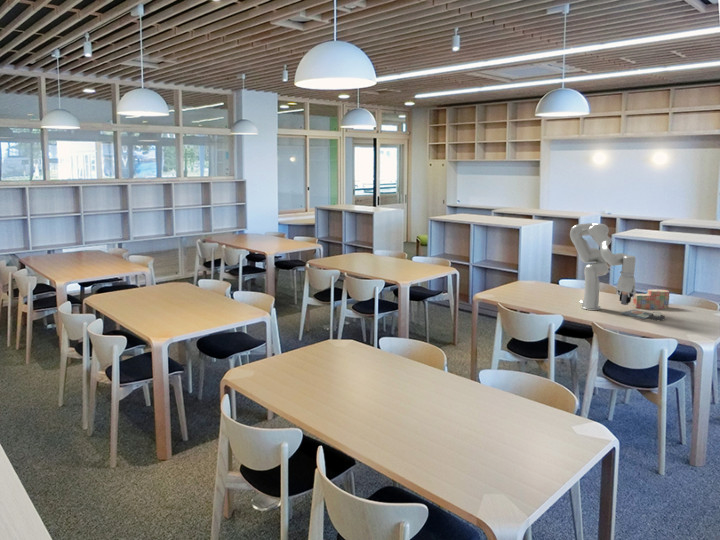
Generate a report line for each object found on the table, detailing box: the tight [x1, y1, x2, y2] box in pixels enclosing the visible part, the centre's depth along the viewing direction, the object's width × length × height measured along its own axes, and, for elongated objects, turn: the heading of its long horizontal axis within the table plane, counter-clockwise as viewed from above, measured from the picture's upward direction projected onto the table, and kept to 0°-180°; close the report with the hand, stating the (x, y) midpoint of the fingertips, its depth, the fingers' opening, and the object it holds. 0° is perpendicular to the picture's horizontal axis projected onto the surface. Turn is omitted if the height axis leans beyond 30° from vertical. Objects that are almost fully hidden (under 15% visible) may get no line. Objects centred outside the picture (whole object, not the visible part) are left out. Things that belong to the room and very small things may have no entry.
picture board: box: [620, 309, 653, 320], centre depth 391 cm, size 17×14×1 cm
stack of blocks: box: [632, 289, 670, 310], centre depth 408 cm, size 21×6×12 cm, turn 84°
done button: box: [652, 311, 662, 317], centre depth 380 cm, size 5×5×2 cm
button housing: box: [648, 313, 666, 321], centre depth 380 cm, size 7×7×2 cm
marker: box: [620, 292, 629, 306], centre depth 385 cm, size 5×5×9 cm
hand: (624, 301), depth 385 cm, fingers closed on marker, 4 cm apart
